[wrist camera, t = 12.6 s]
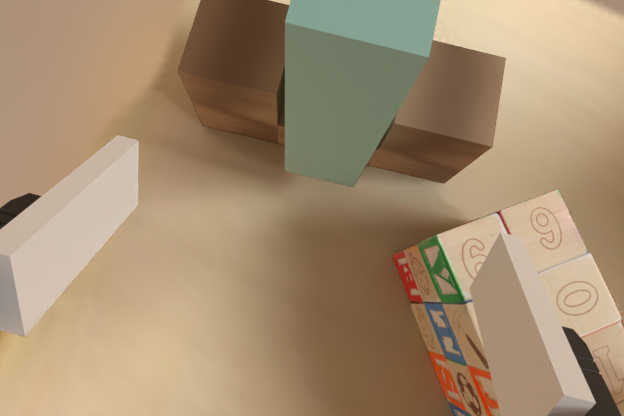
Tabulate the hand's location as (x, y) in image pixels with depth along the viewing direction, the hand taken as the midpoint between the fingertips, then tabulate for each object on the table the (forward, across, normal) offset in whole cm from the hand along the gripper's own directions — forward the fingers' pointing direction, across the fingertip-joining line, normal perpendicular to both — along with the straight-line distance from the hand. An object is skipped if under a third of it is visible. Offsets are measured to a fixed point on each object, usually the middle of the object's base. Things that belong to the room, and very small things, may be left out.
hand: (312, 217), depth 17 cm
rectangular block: (+13, 0, 0) cm, 13 cm away
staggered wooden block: (+15, 0, +2) cm, 15 cm away
